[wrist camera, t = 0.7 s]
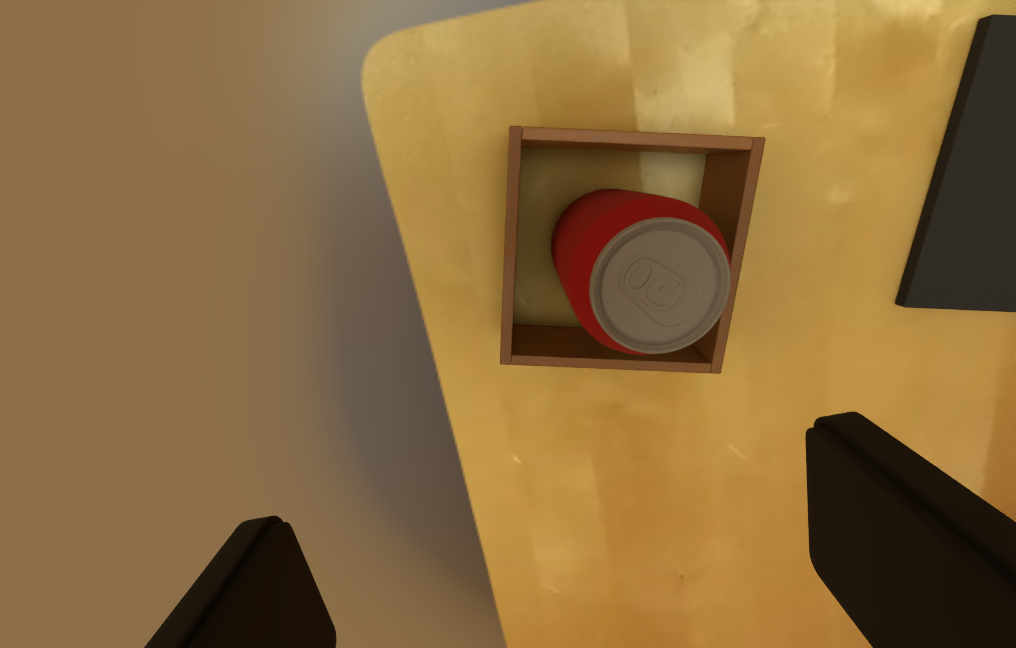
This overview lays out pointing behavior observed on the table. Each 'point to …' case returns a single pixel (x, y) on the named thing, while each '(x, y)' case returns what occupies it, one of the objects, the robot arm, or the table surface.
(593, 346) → the open box
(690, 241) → the beverage can
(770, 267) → the table surface
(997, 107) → the mat
